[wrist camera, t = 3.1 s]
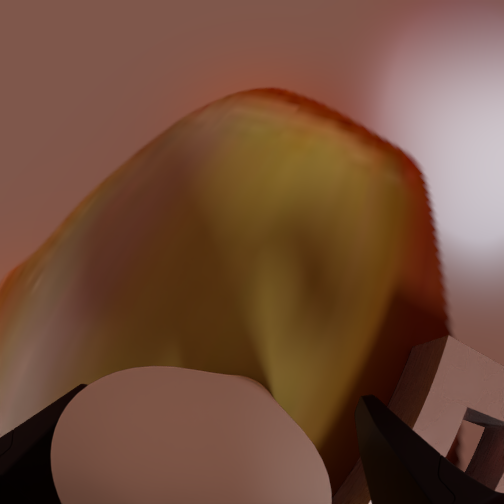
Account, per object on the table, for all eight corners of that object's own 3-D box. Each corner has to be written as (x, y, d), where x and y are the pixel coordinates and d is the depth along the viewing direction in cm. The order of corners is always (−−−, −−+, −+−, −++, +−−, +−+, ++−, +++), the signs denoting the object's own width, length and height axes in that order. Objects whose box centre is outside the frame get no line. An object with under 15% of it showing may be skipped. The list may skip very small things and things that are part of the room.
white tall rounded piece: (249, 463, 13) (235, 618, 1) (180, 423, 14) (23, 488, 2) (291, 399, 14) (391, 448, 3) (220, 360, 15) (124, 303, 4)
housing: (447, 538, 8) (474, 554, 4) (315, 519, 11) (330, 550, 7) (516, 398, 13) (550, 393, 9) (412, 346, 15) (448, 335, 12)
